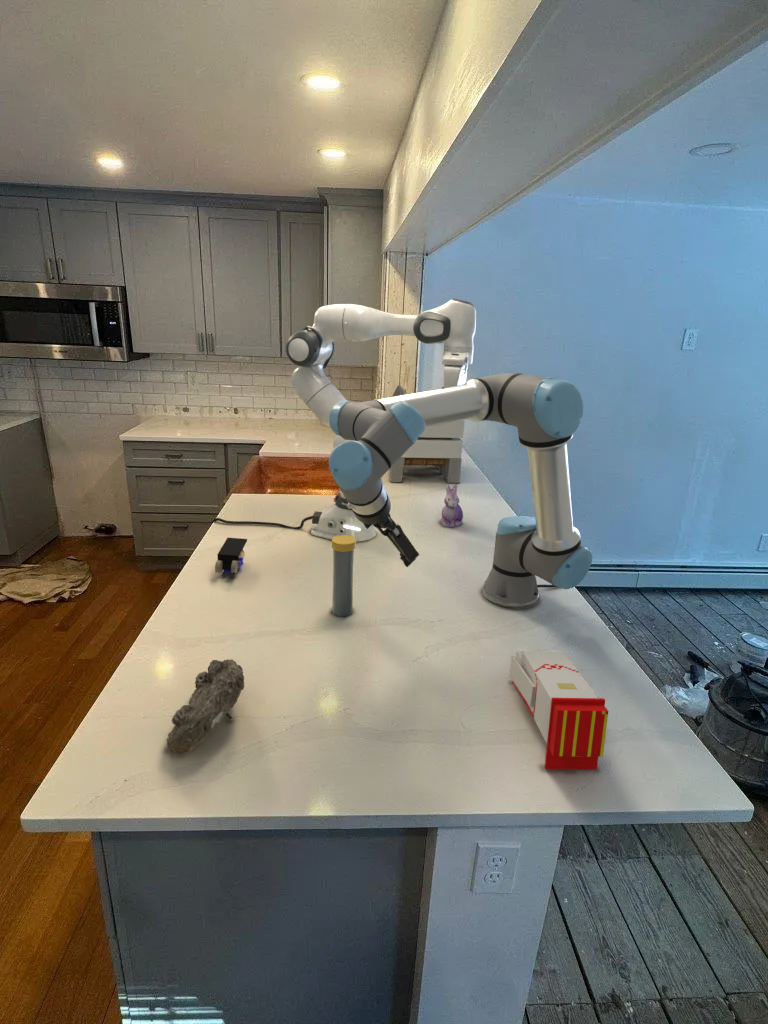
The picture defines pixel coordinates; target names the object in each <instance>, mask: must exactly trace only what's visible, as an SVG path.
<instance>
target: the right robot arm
mask: <svg viewBox="0 0 768 1024" xmlns="http://www.w3.org/2000/svg"><path fill="white" fill-rule="evenodd" d="M583 416H584V401H583V396H582V394H581V392H580V390H579V389H578V388H577V387H576V386H575V384H573V383H572V382H569V381H567V380H562V379H560V378H558V377H546V376H541V375H533V374H527V373H522V372H507V373H506V372H504V373H499V374H493V375H488V376H481V377H477V378H471V379H468V380H466V382H465V383H464V384H463V385H462V386H456V387H450V388H444V389H442V388H439V389H433V390H426V391H421V392H415V393H407V395H402V396H396V397H392V396H390V397H383V398H380V399H373V400H366V401H360V402H357V401H355V400H351V399H350V400H347V399H346V400H344V401H340V402H338V403H337V404H336V405H335V406H334V407H333V408H332V410H331V412H330V415H329V424H330V427H331V428H330V427H329V428H330V429H331V431H332V432H333V433H334V434H336V436H337V435H339V436H341V437H342V438H343V439H345V440H350V441H346V442H345V443H342V444H339V445H338V446H337V447H335V448H333V449H332V451H331V452H330V455H329V458H328V467H329V471H330V474H331V476H332V479H333V481H334V483H335V484H336V485H337V487H338V489H339V491H340V490H341V491H342V493H343V494H344V496H345V498H346V500H347V501H348V504H347V507H348V508H349V509H350V508H351V509H352V511H353V513H354V514H355V516H356V518H357V519H358V520H359V521H361V522H362V523H363V524H364V526H365V527H366V528H367V529H368V528H369V527H370V526H371V525H373V526H374V528H375V529H377V530H378V531H379V532H380V534H381V535H382V536H384V537H387V539H388V540H389V541H390V542H391V544H392V545H393V547H395V549H396V551H398V552H399V556H400V557H399V559H400V560H401V561H402V563H403V565H404V566H405V567H406V568H408V567H409V566H411V564H412V563H414V561H416V560H417V558H418V557H419V556H420V553H419V552H418V550H417V549H416V548H415V546H414V545H413V543H412V542H411V541H410V539H409V538H408V536H407V535H406V534H405V532H404V530H403V528H402V526H401V525H400V524H398V523H396V522H395V521H394V519H393V518H392V516H391V514H390V513H391V508H392V504H391V503H392V502H391V499H390V496H389V495H388V492H387V489H386V486H385V484H384V482H383V480H382V477H384V475H385V474H387V472H388V471H390V468H391V466H392V465H393V464H394V463H395V462H396V461H397V460H398V459H399V458H400V457H401V456H402V455H403V454H404V453H405V452H406V451H407V450H408V449H409V448H410V447H411V446H412V445H414V444H415V441H416V440H417V439H418V438H419V436H420V435H421V434H422V433H423V432H424V430H425V428H426V427H431V426H436V425H441V424H446V423H451V422H456V421H461V420H469V421H471V422H474V423H476V422H477V423H478V422H483V421H490V422H495V423H496V422H497V423H501V424H505V425H508V426H511V427H515V428H517V435H518V441H519V444H520V445H521V446H523V447H524V448H525V449H526V451H527V452H526V453H527V459H528V467H529V477H530V484H531V493H532V502H533V511H534V516H529V515H528V516H527V515H513V516H506V517H504V518H502V519H500V520H499V522H498V523H497V528H496V531H495V539H494V550H493V561H492V568H491V569H490V572H489V574H488V576H487V578H486V580H485V581H484V582H483V588H482V594H483V596H484V598H485V599H487V601H489V602H490V603H492V604H494V605H496V606H499V607H502V608H508V609H515V610H521V609H522V610H523V609H528V608H531V607H534V606H535V605H537V603H538V602H539V598H540V593H539V592H540V591H539V588H549V589H552V588H561V589H563V590H571V589H573V588H575V587H576V586H578V585H579V584H580V583H581V582H582V581H584V579H585V578H586V576H587V575H588V573H589V571H590V569H591V566H592V562H593V553H592V551H591V550H590V549H589V548H588V547H586V546H583V545H582V539H581V533H580V531H579V529H578V528H577V527H575V526H574V523H573V522H574V520H573V509H572V507H573V506H572V497H571V496H572V495H571V483H570V481H571V480H570V472H569V471H570V470H569V458H568V457H569V456H568V446H567V445H568V443H569V442H570V441H571V440H572V439H573V437H574V434H575V433H576V432H577V430H578V429H579V427H580V425H581V423H582V422H581V419H583ZM383 529H384V530H383ZM537 578H539V579H541V580H543V581H545V582H547V583H548V584H538V581H537Z"/></svg>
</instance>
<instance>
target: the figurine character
mask: <svg viewBox="0 0 768 1024" xmlns="http://www.w3.org/2000/svg"><path fill="white" fill-rule="evenodd" d="M247 542H248V538H240V537H226V539H225V541H224V543H223V544H222V546H221V547H220V549H219V551H218V552H217V560H216V562H215V564H214V572H215V573H221V577H222V578H224V577H225V576H226V574H227V573H230V574H231V573H232V574H231V578H234V577H235V575H236V573H237V572H239V571H240V567H242V566H243V565H244V564H245V562H244V558H245V551H244V547H245V546H246V544H247Z"/></svg>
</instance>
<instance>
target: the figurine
mask: <svg viewBox="0 0 768 1024" xmlns="http://www.w3.org/2000/svg"><path fill="white" fill-rule="evenodd" d="M458 486H459V485H458V483H454V485H453V487H452V488H451V487H450V485H449V484H445V493H446V495H445V497H444V500H443V502H444V504H445V505H444V506H443V507H442V509H441V518H440V524H441V525H442V526H443V527H446V528H454V527H459V526H461V524H462V522H463V518H464V512H463V508H462V507H461V506H460V498H459V495H458Z"/></svg>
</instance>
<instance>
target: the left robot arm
mask: <svg viewBox="0 0 768 1024" xmlns="http://www.w3.org/2000/svg"><path fill="white" fill-rule="evenodd" d="M476 327H477V309H476V306H475V305H474V304H473V303H472V302H470V301H467V300H463V299H458V298H451V299H450V300H448V301H447V302H445V303H444V304H441V305H439V306H437V307H435V308H431V309H427V310H424V311H422V312H421V313H419V314H399V313H391V312H386V311H383V310H380V309H377V308H374V307H370V306H366V305H361V304H355V303H335V304H327V305H322V306H320V307H318V308H317V309H316V311H315V313H314V317H313V325H312V326H310V325H306V326H305V327H303V328H301V329H299V330H298V331H295V333H293V334H292V335H291V336H290V337H289V338H288V339H287V340H286V344H285V354H286V357H287V359H289V361H290V362H292V364H294V365H296V366H297V367H295V369H294V370H293V371H292V373H291V375H290V380H291V381H290V383H291V384H292V386H293V388H294V390H295V391H296V393H297V395H298V396H299V397H300V399H301V400H302V401H303V403H304V404H305V405H306V407H307V408H308V409H309V410H310V411H311V412H312V413H313V415H314V416H315V417H316V418H317V419H318V420H319V422H320V423H321V424H323V425H324V426H326V427H328V428H330V429H331V427H330V424H329V415H330V412H331V410H332V408H333V407H334V406H335V405H336V404H337V403H338V402H340V401H344V400H347V399H346V398H345V397H344V396H343V394H342V393H341V392H340V391H339V389H338V388H337V387H336V386H335V385H334V384H333V382H332V381H331V380H330V379H329V378H328V377H327V376H326V374H325V372H324V369H326V368H327V366H328V365H329V362H330V360H331V359H332V357H333V356H334V352H335V350H336V343H335V342H353V343H356V342H366V341H371V340H376V339H378V338H384V337H388V336H409V337H415V338H416V339H417V340H418V341H420V343H423V344H426V345H434V344H435V345H436V344H443V354H442V362H441V363H442V365H443V387H444V388H450V387H456V386H462V385H463V384H464V383H465V382H466V381H467V373H468V368H469V365H473V360H474V359H473V358H474V347H475V345H474V337H475V334H476ZM346 441H350V440H345V439H343V438H342V437H341V436H339V435H337V434H336V436H335V438H334V439H333V443H332V446H333V448H332V449H334V448H335V447H337V446H338V445H339V444H342V443H345V442H346ZM333 502H334V504H333V505H331V506H329V507H328V508H326V509H325V510H323V511H314V512H313V514H312V515H310V516H307V517H305V518H303V519H302V520H301V522H300V525H299V526H290V525H287V524H285V523H284V524H283V523H279V522H268V521H251V520H249V521H248V520H239V521H238V520H226V519H223V518H221V517H215V518H213V519H212V520H211V523H215V522H221V523H224V524H226V525H227V524H228V525H260V526H261V525H262V526H275V527H281V528H284V529H291V530H301V529H302V528H303V527H304V524H305V522H307V521H310V520H311V524H312V525H313V526H312V528H311V530H310V533H311V536H315V537H319V538H323V539H326V540H330V541H332V538H333V537H335V536H339V535H348V536H352V537H354V538H355V539H356V543H357V542H365V541H368V540H372V539H373V538H375V537H376V535H377V532H376V527H374V526H373V525H371V526H370V527H369V528H368V529H367V528H366V527H365V526H364V524H363V523H362V522H361V521H359V520H358V519H357V518H356V516H355V514H354V513H353V511H352V509H351V508H350V509H349V508H348V507H347V504H348V501H347V500H346V498H345V496H344V494H343V493H342V491H341V490H340V489H339V491H338V492H337V494H336V495H335V496H334V497H333Z"/></svg>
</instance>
